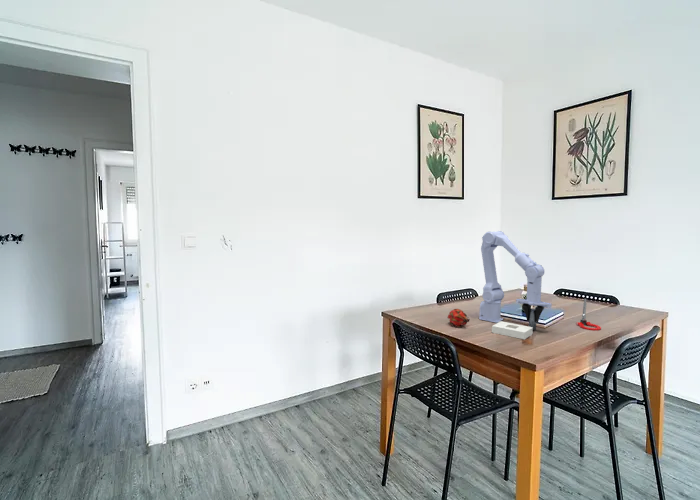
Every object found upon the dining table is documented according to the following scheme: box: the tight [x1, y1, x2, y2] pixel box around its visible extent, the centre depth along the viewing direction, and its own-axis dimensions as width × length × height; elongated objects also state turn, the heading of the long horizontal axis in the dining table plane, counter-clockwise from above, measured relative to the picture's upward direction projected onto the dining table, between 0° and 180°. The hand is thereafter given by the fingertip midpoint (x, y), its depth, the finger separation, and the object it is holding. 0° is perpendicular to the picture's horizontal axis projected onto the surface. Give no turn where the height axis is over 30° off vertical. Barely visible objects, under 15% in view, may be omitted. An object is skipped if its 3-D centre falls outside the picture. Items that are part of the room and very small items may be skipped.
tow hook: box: [575, 298, 602, 332], centre depth 173 cm, size 8×13×9 cm
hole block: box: [491, 320, 534, 340], centre depth 166 cm, size 14×10×3 cm
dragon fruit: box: [447, 308, 470, 328], centre depth 178 cm, size 8×8×12 cm
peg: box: [528, 307, 537, 331], centre depth 170 cm, size 3×3×9 cm
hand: (532, 321), depth 170 cm, fingers closed on peg, 3 cm apart
